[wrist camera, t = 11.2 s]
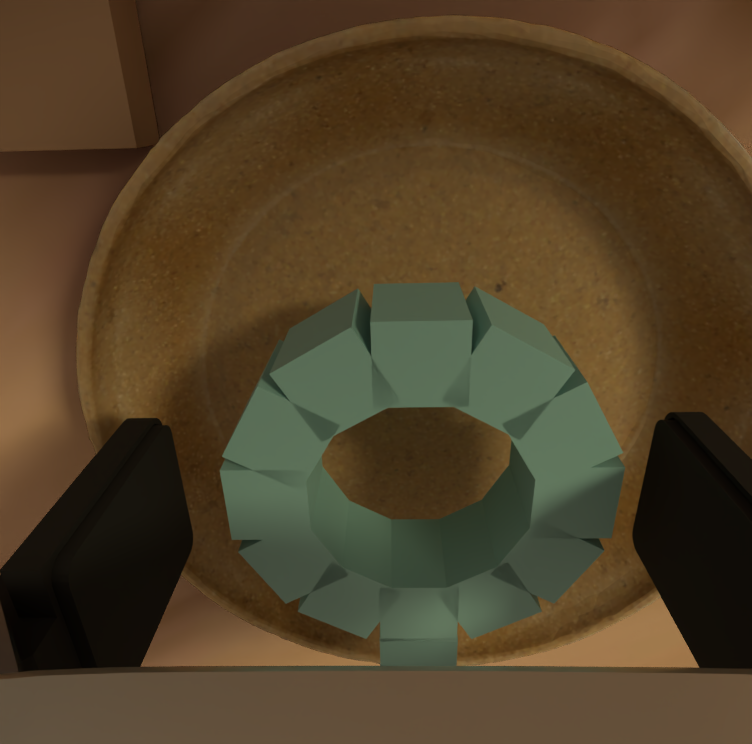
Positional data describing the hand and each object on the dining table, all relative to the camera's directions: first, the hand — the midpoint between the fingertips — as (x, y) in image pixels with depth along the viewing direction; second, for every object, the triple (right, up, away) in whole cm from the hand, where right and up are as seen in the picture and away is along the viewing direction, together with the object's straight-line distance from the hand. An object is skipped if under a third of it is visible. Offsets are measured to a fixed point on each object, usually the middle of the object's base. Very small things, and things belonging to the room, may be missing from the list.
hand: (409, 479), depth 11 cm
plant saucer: (+1, +2, +3) cm, 4 cm away
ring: (0, +1, +1) cm, 1 cm away
